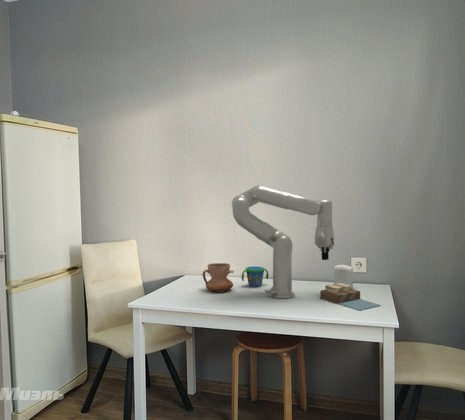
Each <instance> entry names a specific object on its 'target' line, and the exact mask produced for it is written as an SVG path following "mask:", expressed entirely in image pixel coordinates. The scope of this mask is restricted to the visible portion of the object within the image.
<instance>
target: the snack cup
mask: <svg viewBox="0 0 465 420" xmlns="http://www.w3.org/2000/svg"><path fill="white" fill-rule="evenodd" d="M265 272H266V275H265V279H266V280H268V279H269V271H268V269H266V268H265V267H262V266H255V265H253V266H246V268H245V269H244V270H243V271H242V272H241V281H242V282H245V280H244V279H245V273H246V277H247V283H248V286H249V287H250V288H251V287H252V288H257V287H261V286H262V285H263V280H264V274H265Z"/></svg>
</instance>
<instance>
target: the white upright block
mask: <svg viewBox="0 0 465 420" xmlns="http://www.w3.org/2000/svg"><path fill="white" fill-rule="evenodd" d="M333 276H334V283H333V284H337V283H342V284H346V285H350V289H354V287H353V286H354V268H353V267H352V266H350V265H345V264H337V265H335V266H334V275H333Z"/></svg>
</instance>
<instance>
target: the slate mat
mask: <svg viewBox="0 0 465 420" xmlns="http://www.w3.org/2000/svg"><path fill="white" fill-rule="evenodd" d="M338 305H341V306H344V307H346V308H350V309H353V310H356V311H365V310H369V309H374V308H377V307H378V308H379V307H381V306H382V305H381V304H378V303H376V302H372V301H368V300H365V299H362V298H360V299H357V300H352V301H348V302H343V303H339V304H338Z"/></svg>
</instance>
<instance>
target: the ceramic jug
mask: <svg viewBox="0 0 465 420" xmlns="http://www.w3.org/2000/svg"><path fill="white" fill-rule="evenodd" d="M230 268H231V264H230V263H227V262H222V263H219V262H218V263H217V262H214V263H208V264H207V269H204V270H203V271H202V279H203V281H204V283H205V287H206V289H207V290H209V291H210V292H215V293H223V292H224V293H225V292H227V291H230V290H231V289H232V288H234V287H233V286H234V283H233V281H232V280H230V279H229V278H227V277H228V276H229V274H230V273H231V274H233V273H234V272H235V271H234V270H233V269H230ZM206 273H208V274H209V275H210V277H211V278H210V279H209V280H208V281H207V278H206Z"/></svg>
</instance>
